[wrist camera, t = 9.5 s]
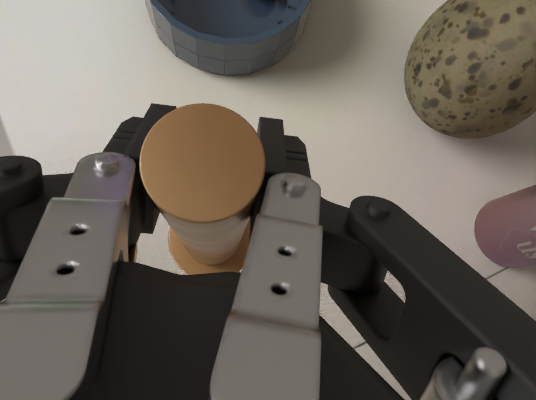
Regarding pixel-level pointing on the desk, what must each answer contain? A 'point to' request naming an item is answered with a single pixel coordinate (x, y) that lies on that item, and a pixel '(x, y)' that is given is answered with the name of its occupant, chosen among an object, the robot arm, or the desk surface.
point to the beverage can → (509, 229)
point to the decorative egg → (474, 67)
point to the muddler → (204, 184)
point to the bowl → (229, 31)
